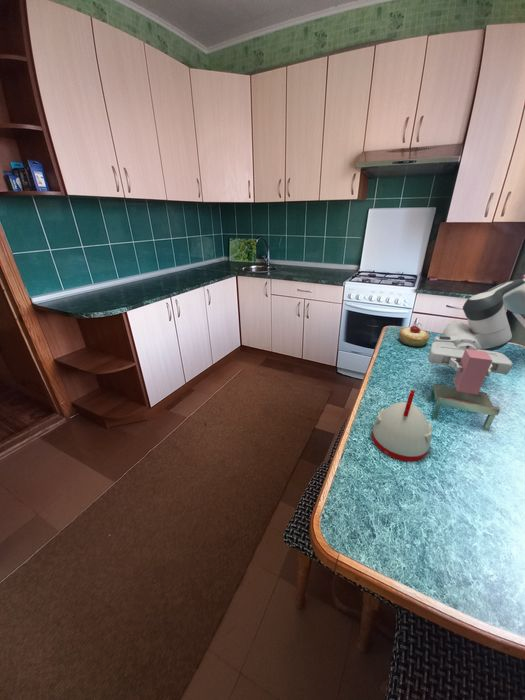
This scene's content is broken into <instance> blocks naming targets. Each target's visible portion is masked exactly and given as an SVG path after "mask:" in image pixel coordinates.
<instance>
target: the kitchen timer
mask: <svg viewBox="0 0 525 700" xmlns="http://www.w3.org/2000/svg"><path fill="white" fill-rule="evenodd" d="M415 393H416V390H414V389H410V392H409V395H408V399H407V400H406V401H407V402H406V401H400V402H396V403H392V404H391V405H390V406H388V407H386V408H384V407H382V408H381V409H380V411H379V412H378V415H377V417H376V419H375V422H374V423H373V427H372V433H371V438H372V441H373V443H374V444H375V446H376V447H377V448H378V449H379V450H380V451H381V452H382V453H383V454H385V455H387V456H388V457H390V458H393V459H395V460H398V461H403V462H417V461H421V460H423V459H424V458H425V457H427V455H428V453H429V450H430V448H431V441H432V435H433V434H432V433H433V429H432V428H433V423H431V422H430V423H429V422H428V420H427V418H426V416H425V414H424V413H423V411H422V410H421V409H420V408H419V407H418V406H417V405H415V404H413V401H414V396H415Z"/></svg>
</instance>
